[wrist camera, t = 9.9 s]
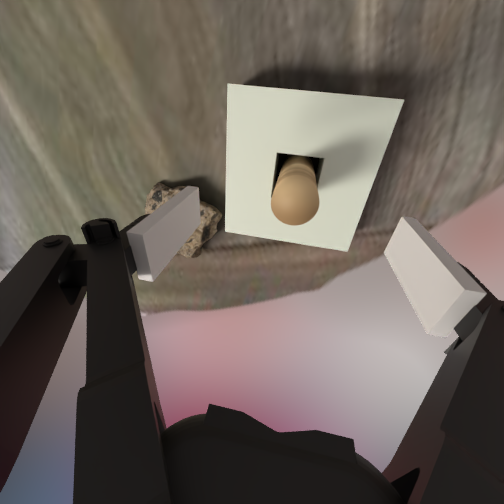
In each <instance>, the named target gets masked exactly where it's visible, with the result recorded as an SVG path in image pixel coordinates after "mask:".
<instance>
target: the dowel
mask: <svg viewBox="0 0 504 504" xmlns="http://www.w3.org/2000/svg"><path fill="white" fill-rule="evenodd" d="M318 208H319V194H318V189H317V183H316V178H315V172H314V166H313V163H312V161H311V159H310V158H309V157H308V156H302V155H291V156H289V157H288V158H287V159H286V160H285V161H284V163H283V165H282V168H281V171H280V174H279V177H278V180H277V183H276V186H275V189H274V192H273V195H272V198H271V209H272V212H273V214H274V215H275V217H276V218H277V219H278V220H279V221H281V222H282V223H284V224H287V225H293V226H295V225H302V224H304V223H307V222H308V221H310V220H311V219H312V218H313V217H314V216H315V215H316V213H317V211H318Z"/></svg>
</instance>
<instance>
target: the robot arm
mask: <svg viewBox="0 0 504 504" xmlns="http://www.w3.org/2000/svg"><path fill="white" fill-rule="evenodd" d="M200 224H201V219H200V202H199V187H193V186H187V187H186V188H184V189H183V190H182V191H180V192H179V193H178V194H176V195H175V196H174V197H172V198H171V199H170V200H168V201H167V202H166V203H164V204H163V205H162V206H160V207H159V208H158V209H156V210H155V211H154V212H152V213H151V214H146V215H143V216H141V217H139V218H138V219H136V220H135V221H134V222H132V223H131V224H129V225H128V226H126V227H125V228H124V229H122V230H121V231H120V232H119V230H118V227H117V223H116V221H115V220H113V219H108V218H101V219H95V220H91V221H88V222H86V223H85V224H83V225H82V227H81V229H82V232H83V234H84V237H85V239H86V242H87V244H74V245H73V242H72V240H71V238H70V237H69V236H66V235H51V236H49V237H48V236H47V237H44V238H43V239H41V240H39V241H37V242H36V243H35V244H34V245H33V246H32V247H31V248H30V249H29V250H28V252H27V253H26V254H25V255H24V256H23V257H22V258H21V260H20V261H19V262H18V263H17V264H16V265H15V266H14V268H13V269H12V270H11V271H10V272H9V273H8V274H7V276H6V277H5V278H4V279H3V280H2V281H1V282H0V492H1V490H2V488H3V487H4V485H5V483H6V481H7V479H8V477H9V474H10V472H11V470H12V468H13V466H14V464H15V462H16V460H17V457H18V455H19V453H20V450H21V448H22V446H23V443H24V441H25V438H26V436H27V434H28V431H29V429H30V426H31V424H32V422H33V419H34V417H35V414H36V412H37V409H38V407H39V405H40V402H41V400H42V397H43V395H44V393H45V390H46V388H47V385H48V383H49V381H50V378H51V376H52V373H53V371H54V368H55V366H56V364H57V361H58V359H59V356H60V354H61V352H62V349H63V347H64V344H65V342H66V340H67V337H68V335H69V332H70V330H71V328H72V325H73V323H74V320H75V318H76V316H77V313H78V311H79V308H80V306H81V304H82V301H83V299H84V296H85V294H86V292H87V348H86V351H87V352H86V360H87V361H86V384H85V387H82V388H80V390H79V392H78V397H77V412H76V439H75V465H74V491H73V492H74V493H73V504H504V301H501V300H498V299H497V298H496V297H495V296H494V295H493V294H492V293H491V292H490V291H489V290H488V289H487V288H486V287H485V286H484V285H483V284H482V283H480V281H479V280H478V279H477V278H476V277H475V276H474V275H473V274H472V273H471V272H470V271H469V270H468V269H467V268H466V267H464V266H463V265H461V264H460V263H458V262H456V260H455V259H454V258H453V257H452V256H451V255H450V254H449V253H448V252H447V251H446V250H445V249H444V248H443V247H442V246H441V245H440V244H439V243H438V242H437V241H436V240H435V238H434V237H432V235H431V234H430V233H429V232H428V231H427V230H426V229H425V228H424V227H423V226H422V225H421V224H420V223H419V222H418V221H417V220H416V218H411V217H404V216H402V217H401V219H400V221H399V223H398V225H397V227H396V229H395V231H394V233H393V235H392V237H391V239H390V241H389V243H388V245H387V247H386V249H385V251H384V254H385V256H386V258H387V260H388V262H389V263H390V265H391V267H392V269H393V271H394V273H395V274H396V277H397V278H398V280H399V282H400V284H401V286H402V288H403V289H404V292H405V293H406V295H407V297H408V299H409V301H410V303H411V305H412V307H413V308H414V310H415V312H416V314H417V316H418V318H419V320H420V322H421V323H422V325H423V327H424V329H425V331H426V333H427V334H428V335H432V336H438V337H443V338H446V337H447V336H448V335H449V334H450V333H451V332H452V331H453V330H455V331H456V333H457V334H458V336H459V337H458V338H457V339H456V340H455V342H453V344H452V345H451V346H450V347H449V348H448V349H447V350H446V351H445V352H444V353H446V354H447V356H446V358H445V360H444V362H443V364H442V366H441V367H440V369H439V371H438V373H437V375H436V377H435V379H434V381H433V383H432V385H431V387H430V389H429V390H428V392H427V394H426V396H425V398H424V400H423V402H422V404H421V405H420V407H419V409H418V411H417V413H416V415H415V417H414V419H413V421H412V423H411V425H410V426H409V428H408V430H407V432H406V434H405V436H404V438H403V440H402V442H401V444H400V445H399V447H398V449H397V451H396V453H395V455H394V457H393V459H392V460H391V462H390V464H389V465H388V466H387V468H386V469H385V470H384V471H383V472H382V473H381V472H380V471H379V470H378V469H377V468H375V467H374V466H373V465H372V464H371V463H370V462H369V461H367V460H366V459H364V458H363V457H362V456H361V455H359V454H357V453H356V452H355V447H354V440H353V439H350V438H346V437H342V436H338V435H334V434H330V433H326V432H322V431H318V430H310V431H298V432H297V431H296V432H276V431H274V430H273V429H271V428H269V427H267V426H266V425H264V424H262V423H261V422H259V421H257V420H256V419H254V418H252V417H251V416H249V415H247V414H245V413H244V412H241V411H236V410H233V409H229V408H225V407H221V406H216V405H212V404H209V407H208V410H207V413H206V414H199V415H194V416H191V417H188V418H185V419H183V420H181V421H179V422H177V423H175V424H173V425H171V426H170V427H168V428H166V424H165V420H164V416H163V413H162V409H161V405H160V400H159V396H158V392H157V387H156V383H155V378H154V373H153V369H152V364H151V360H150V355H149V351H148V347H147V341H146V337H145V333H144V328H143V324H142V318H141V314H140V309H139V305H138V300H137V296H136V291H135V286H134V282H133V278H132V274H133V273H134V272H135V271H136V270H137V273H138V277H139V279H142V280H147V281H152V282H153V281H154V280H155V279H156V277H157V276H158V275H159V274H160V273H161V271H162V270H163V269H164V268H165V267H166V265H167V264H168V263H169V262H170V260H171V259H172V258H173V257H174V256H175V254H176V253H177V252H178V251H179V249H180V248H181V247H182V246H183V245H184V243H185V242H186V241H187V240H188V238H189V237H190V236H191V235H192V234H193V232H194V231H195V230H196V229H197V227H198V226H199V225H200Z"/></svg>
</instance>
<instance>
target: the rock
mask: <svg viewBox="0 0 504 504" xmlns="http://www.w3.org/2000/svg"><path fill="white" fill-rule="evenodd" d="M184 188H186V187H185V186H177V187H174V188H169V187H168V186H165V185H164V184H162V183H157V184H156V185H155V186H154V187H153V188H152V189H151V192H150V193H149V194H147V201H146V206H145V214H151V213H152V212H154V211H155V210H156V209H158V208H159V207H160V206H162V205H163V204H164V203H166V202H167V201H168V200H170V199H171V198H172V197H174V196H175V195H176V194H178V193H179V192H180V191H182V190H183V189H184ZM199 202H200V219H201V224H200V225H199V226H198V227H197V229H196V230H195V231H194V232H193V234H192V235H191V236H190V237H189V238H188V240H187V241H186V242H185V243H184V245H183V246H182V247H181V248H180V249H179V251H178V252H177V253H179V254H182V255H184V256H186V257H187V258H194V257H198V256H199V255H200V254H201V248H202V245H203V244H204V243H205V242H206V241H208V240H209V239H211V238H212V237H213V236H214V234H215V233H216V232H217V229H216V228H217V223H218V222H219V221H220V219H221V217H222V213H221V212H220V211H219V210H218V209H217V208H216V207H214V206H212V205H210V204H208V203H206V202H204V201H201V200H200V199H199Z"/></svg>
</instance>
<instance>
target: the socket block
mask: <svg viewBox="0 0 504 504" xmlns="http://www.w3.org/2000/svg"><path fill="white" fill-rule="evenodd" d="M403 102H404V100H403V99H392V98H381V97H370V96H359V95H348V94H337V93H326V92H315V91H304V90H293V89H282V88H271V87H259V86H248V85H237V84H228V95H227V149H226V204H225V232H231V233H237V234H243V235H249V236H255V237H262V238H268V239H274V240H280V241H286V242H292V243H298V244H304V245H310V246H316V247H323V248H329V249H335V250H341V251H348V249H349V246H350V243H351V241H352V238H353V235H354V233H355V230H356V227H357V225H358V222H359V219H360V217H361V214H362V211H363V209H364V206H365V203H366V201H367V198H368V195H369V193H370V190H371V188H372V185H373V182H374V180H375V177H376V174H377V172H378V169H379V166H380V164H381V161H382V158H383V156H384V153H385V150H386V148H387V145H388V142H389V140H390V137H391V134H392V132H393V129H394V126H395V124H396V121H397V118H398V116H399V113H400V110H401V108H402V105H403ZM279 153H285V154H293V155H302V156H310V157H318V158H320V160H319V165H318V169H317V173H316V177H315V178H316V183H317V189H318V194H319V208H318V211H317V213H316V215H315V216H314V217H313V218H312V219H311V220H310V221H308V222H307V223H304V224H302V225H295V226H293V225H287V224H284V223H282V222H281V221H279V220H278V219H277V218H276V217H275V215H274V214H273V212H272V209H271V198H272V195H273V192H274V189H275V180H276V173H277V166H278V159H279Z"/></svg>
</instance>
